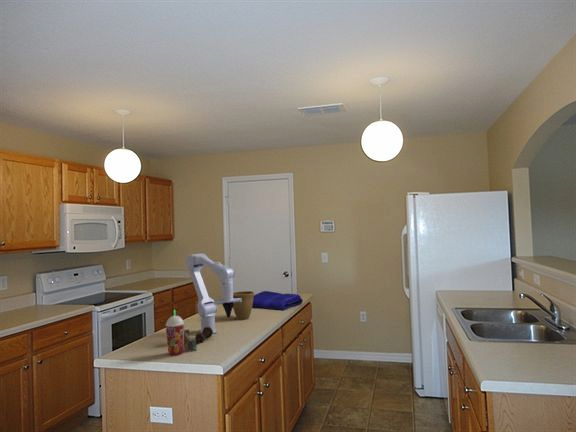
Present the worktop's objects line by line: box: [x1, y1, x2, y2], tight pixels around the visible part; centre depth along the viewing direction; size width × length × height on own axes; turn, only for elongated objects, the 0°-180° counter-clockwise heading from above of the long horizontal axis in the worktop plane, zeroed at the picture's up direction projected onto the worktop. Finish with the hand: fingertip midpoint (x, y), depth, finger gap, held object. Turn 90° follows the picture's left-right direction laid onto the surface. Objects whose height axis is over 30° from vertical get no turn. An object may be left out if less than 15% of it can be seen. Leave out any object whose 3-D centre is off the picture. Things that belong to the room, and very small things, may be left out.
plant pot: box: [232, 290, 255, 321], centre depth 249 cm, size 15×15×16 cm
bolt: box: [193, 327, 214, 345], centre depth 203 cm, size 6×5×15 cm
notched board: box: [184, 329, 197, 352], centre depth 196 cm, size 22×3×5 cm, turn 23°
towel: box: [252, 290, 303, 311], centre depth 287 cm, size 26×36×9 cm
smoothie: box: [165, 309, 185, 356], centre depth 183 cm, size 8×8×20 cm
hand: (228, 317), depth 209 cm, fingers closed
